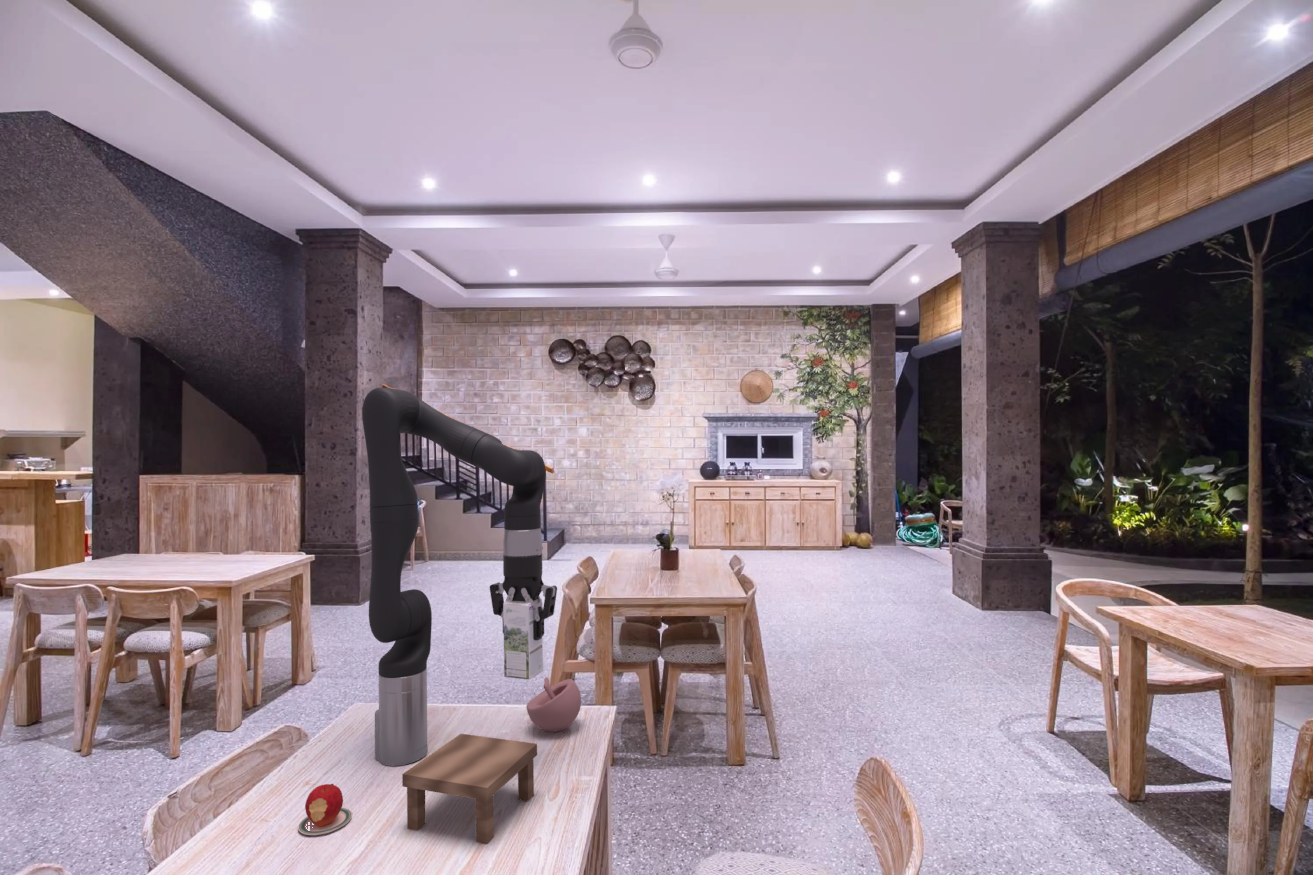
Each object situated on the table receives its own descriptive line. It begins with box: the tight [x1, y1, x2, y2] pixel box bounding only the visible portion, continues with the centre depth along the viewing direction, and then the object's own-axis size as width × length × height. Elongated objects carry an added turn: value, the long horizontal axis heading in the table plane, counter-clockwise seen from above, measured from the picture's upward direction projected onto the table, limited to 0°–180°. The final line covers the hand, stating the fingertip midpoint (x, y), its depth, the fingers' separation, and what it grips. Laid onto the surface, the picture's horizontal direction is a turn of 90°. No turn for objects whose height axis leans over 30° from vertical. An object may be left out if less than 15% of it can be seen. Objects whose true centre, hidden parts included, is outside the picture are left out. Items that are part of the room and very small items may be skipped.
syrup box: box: [502, 598, 544, 680], centre depth 126 cm, size 6×6×14 cm
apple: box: [297, 783, 353, 836], centre depth 108 cm, size 8×8×6 cm
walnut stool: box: [401, 733, 538, 845], centre depth 110 cm, size 16×16×9 cm
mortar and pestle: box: [526, 677, 582, 733], centre depth 143 cm, size 12×12×11 cm
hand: (523, 637), depth 126 cm, fingers closed on syrup box, 5 cm apart
